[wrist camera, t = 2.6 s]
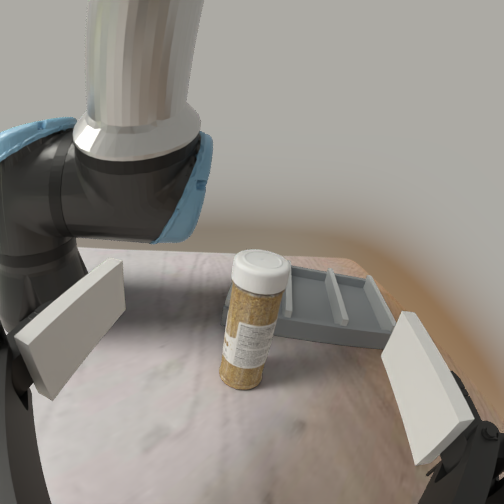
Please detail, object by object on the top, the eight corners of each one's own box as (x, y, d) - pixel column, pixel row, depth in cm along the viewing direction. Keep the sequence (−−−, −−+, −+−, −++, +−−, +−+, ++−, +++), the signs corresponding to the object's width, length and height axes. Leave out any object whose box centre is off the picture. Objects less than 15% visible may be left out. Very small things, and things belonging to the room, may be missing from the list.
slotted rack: (220, 325, 35) (223, 300, 34) (239, 270, 50) (242, 250, 48) (389, 349, 34) (400, 328, 33) (364, 292, 49) (371, 274, 48)
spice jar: (220, 357, 30) (236, 243, 25) (262, 363, 30) (288, 251, 25) (216, 388, 26) (231, 267, 20) (262, 394, 26) (295, 276, 21)
